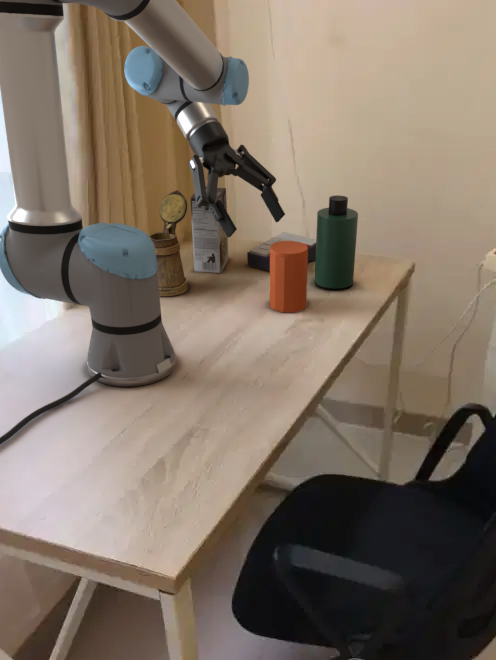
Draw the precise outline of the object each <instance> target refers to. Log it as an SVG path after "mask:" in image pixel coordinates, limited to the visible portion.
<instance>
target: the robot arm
mask: <svg viewBox="0 0 496 660" xmlns="http://www.w3.org/2000/svg"><path fill="white" fill-rule="evenodd" d="M64 4H78V5H83V6H84V5H85V6H89V7H94V8H96V9H99V10H100V11H102V13H104V14H105V15H106V16H108V17H109V18H110V19H112V20H114V21H116V22H124V23H125V25H127V26H128V27H129V28H130V29H131V30H132V31H133V32H134V33H135V34H136V35H137V36H138V37H139V38H141V39H142V41H143V42H144V43H145V44H146V45H147V46H146V45H139V46H136V47H134V48H133V49H132V50H130V52H129V53H128V54H127V56H126V58H125V61H124V68H123V70H124V77H125V79H126V82H127V83H128V85H129V86H130V87H131V88H132V89H133V90H134V91H135V92H137V93H138V94H140V95H141V96H145V97H147V98H149V99H152V100H154V101H157V102H159V103H161V104H163V105H165V106H166V107H167V109H168V111H169V112H170V114H171V115H172V117H173V119H174V120H175V122H176V124H177V126H178V128H179V129H180V132H181V133H182V135H183V136H184V138H185V140H186V141H187V142H188V145H189V147H190V149H191V151H192V153H193V156H192V157H191V159H190V160H189V162H188V168H189V169H190V172H191V175H192V182H193V190H194V192H195V199H196V205H197V206H198V207H202V206H203V208H204V210H206V211H207V210H210V212H211V214H212V215H213V217H214V219H215V220H216V221H217V222H219V223H220V225H221V227H222V228H223V230H224V232H225V234H226V235H227V237H228V238H231V237H232V236H233V235H234V234H235V232H236V231H237V230H238V229H237V227H236V225H235V223H234V222H233V220H232V218H231V216H230V214H229V213H228V210H227V211H226V209H225V207H224V206H223V204H222V202H221V200H217V201H216V202H215V200H216V193H217V188H218V185H219V178H223V177H224V176H231V175H232V176H234V177H238V178H240V179H241V180H243V181H245V182H246V183H248V184H249V185H251V187H254V188H255V189H257V190H258V191H260V192H261V193H260V197H261V199H262V200H263V202H264V204H265V206H266V207H267V209H268V211H269V213H270V215H271V216H272V218H273V220H274V222H275V223H278V222H280V221H281V220H282V219H283V217H285V215H286V213H285V211H284V210H283V207H282V206H281V204H280V203H279V197H278V195H277V193H276V192H275V191H274V189H273V185H274V184H275V183H276V182H277V178H276V176H274V175H273V174H272V173H271V171H269V170H268V169H267V168H266V167H264V166H263V165H262V163H260V162H259V161H258V160H257V159H256V157H254V156H253V155H252V154H250V152H249V150H248V149H247V147H246V146H245V145H244V144H240V145H239V146H238V147H237V148H235V149H234V148H233V147H231V145H230V138H229V135H228V134H227V132H226V130H225V128H224V126H223V125H222V123H221V122H220V121H219V117H218V115H217V114H216V112H215V110H214V109H213V107H212V105H219V106H220V105H222V106H224V107H226V106H239V105H241V104H243V102H245V100H246V97H247V95H248V90H249V85H250V75H249V69H248V66H247V64H246V63H245V61H244V59H241V58H237V57H233V56H223V55H222V53H221V52H220V51H219V50H218V49H217V47H216V46H215V45H214V43H212V41H211V40H210V39H209V37H207V35H206V34H205V33H204V32H203V31H202V29H201V28H200V27H199V26H198V25H197V23H196V22H195V21H194V20H193V19H192V18H191V17H190V15H189V14H188V13H187V11H185V10H184V9H185V8H183V7H182V5H180V4H179V2H178V1H177V0H0V97H1V104H2V111H3V112H2V113H3V118H4V119H3V120H4V127H5V134H6V142H7V149H8V157H9V163H10V165H9V166H10V173H11V179H12V187H13V194H14V202H15V205H14V207H13V208H12V209H11V211H10V212H9V213H7V224H6V225H5V226H4V227H3V228H2V230H1V231H0V272H1V273H2V275H3V278H4V279H5V281H6V282H7V283H8V284H9V285H10V286H11V287H12V288H14V289H15V291H18V292H19V293H21V294H25V295H28V296H31V297H33V298H36V299H39V300H41V299H42V300H51V301H56V302H63V303H67V304H73V305H79V306H85V307H88V308H89V315H90V321H91V326H92V327H91V334H90V340H89V345H88V350H87V356H86V366H87V371H88V374H89V375H90V378H88V379H87V380H85V381H84V382H83V383H81V384H80V385H79V386H77V387H75V389H73V390H71V392H68V394H66V395H65V396H62V397H60V398H58V399H56V400H54V401H52V402H50V403H48V404H44V405H43V406H41V407H39V408H38V409H36V410H34V411H33V412H31V413H30V414H28V415H26V416H25V417H24V418H22V419H21V420H20V421H19V422H18V423H16V424H15V425H14V426H13V427H12V428H11V429H10V430H8V431H7V432H5V433H4V434H3V435H2V436H0V445H2V444H3V443H4V442H7V441H8V440H9V439H10V438H12V437H13V436H14V435H15V434H17V433H18V432H19V431H20V430H21V429H22V428H24V427H25V426H26V425H28V424H29V423H30V422H31V421H32V420H34V419H36V418H37V417H39V416H40V415H42V414H44V413H46V412H48V411H50V410H52V409H54V408H56V407H59V406H61V405H62V404H65V403H67V402H68V401H70V400H71V399H73V398H75V397H77V395H79V394H80V393H82V392H83V391H84V390H85V389H87V388H88V387H89V386H91V385H92V384H93V383H95V382H96V381H97V382H99V383H102V384H103V385H104V384H105V385H107V386H114V387H125V388H127V387H139V386H146V385H150V384H153V383H156V382H159V381H161V380H163V379H165V378H167V377H168V376H170V375H171V374H172V373H173V372H174V370H175V369H176V366H177V358H176V357H177V356H176V351H175V348H174V346H173V345H172V342H171V340H170V338H169V335H168V333H167V331H166V329H165V326H164V325H163V324H164V323H163V320H162V309H161V296H160V295H159V283H158V263H157V259H156V254H155V248H154V244H153V242H152V240H151V238H150V237H149V236H148V235H149V234H147V233H146V232H145V231H143V230H141V229H140V228H137V227H135V226H132V225H128V224H124V223H119V222H112V223H107V222H97V223H92V224H90V225H87V226H83V217H82V214H81V212H80V211H78V210H77V209H76V208H75V207H74V206H73V204H72V200H71V199H72V198H71V190H70V189H71V188H70V179H69V169H68V159H67V148H66V138H65V137H66V136H65V127H64V117H63V107H62V97H61V85H60V77H59V66H58V55H57V44H56V34H55V32H56V30H57V28H58V27H59V25H61V23H62V22H63V21H64V19H65V15H64ZM204 169H206V170H207V176H206V177H205V171H204ZM206 180H207V185H206ZM206 186H207V191H206Z"/></svg>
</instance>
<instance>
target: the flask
mask: <svg viewBox="0 0 496 660" xmlns="http://www.w3.org/2000/svg"><path fill="white" fill-rule="evenodd" d="M348 202H349V197H348V196H345V195H339V194H338V195H331V196H329V198H328V207H325V208H321V209H319V210H318V211H317V213H316V238H315V239H316V260H314V262H315V263H314V280H313V284H314V286H315V287H316V288H318V289H320V290H324V291H328V292H342V291H346V290H350V289H352V288H353V287H354V282H355V281H354V275H355V263H356V261H355V260H356V249H357V235H358V234H357V233H358V220H359V212H358V211H356V210H355V209H352V208H348Z"/></svg>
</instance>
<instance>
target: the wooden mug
mask: <svg viewBox="0 0 496 660" xmlns="http://www.w3.org/2000/svg"><path fill="white" fill-rule="evenodd" d="M187 212H188V201H187V198H186V197H185V196H184V194H183V193H182V192H180V191H179V189H176V190H173V191H171V192H169V193H168V194H167V195H165V196H164V197H163V198H162V200H161V202H160V206H159V216H160V218H161V220H162V222H163V223H164V224H163V229H162V231H161V232H159V231H158V232H152V233H149V234H147V235H148V236H149V237H150V238H151V240H152V242H153V244H154V248H155V254H156V259H157V263H158V283H159V295H160V297H174V296H178V295H182V294H184V293H185V292H187V290H188V289H189V288H188V281H187V278H186V277H185V272H184V271H185V270H184V267H183V261H182V256H181V251H180V250H181V245H180V241H179V240H178V236H177V235H176V229H177V224H178V223H180V222H181V221H182V220H183V219H184V218H185V217H186V214H187Z"/></svg>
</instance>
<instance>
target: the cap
mask: <svg viewBox="0 0 496 660" xmlns="http://www.w3.org/2000/svg"><path fill="white" fill-rule="evenodd" d="M308 263H309V262H308V247H307V245H305V244H304V243H301V242H296V241H280V242H276V243H273V244H272V245H271V246H270V271H269V308H271V309H272V310H273V311H275V312H278V313H279V312H280V313H285V314H286V313H287V314H289V313H292V314H293V313H297V312H301V311H304V310H305V309H306V308H307V293H308V292H307V291H308V290H307V289H308Z"/></svg>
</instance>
